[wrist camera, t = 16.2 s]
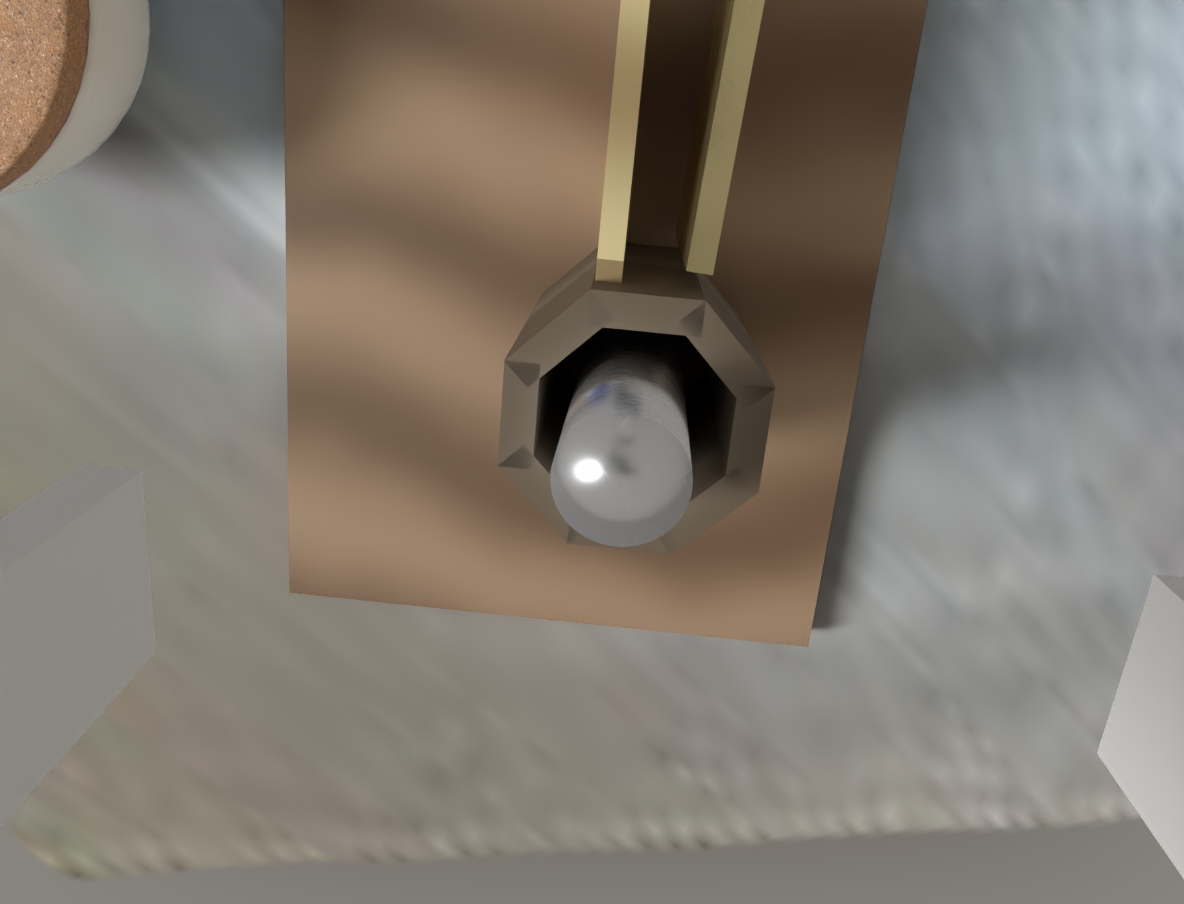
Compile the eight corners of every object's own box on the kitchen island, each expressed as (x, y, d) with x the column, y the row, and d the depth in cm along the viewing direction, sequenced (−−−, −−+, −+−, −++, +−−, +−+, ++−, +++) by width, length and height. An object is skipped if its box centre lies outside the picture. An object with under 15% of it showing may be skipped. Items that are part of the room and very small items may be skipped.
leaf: (719, -25, 27) (749, -80, 19) (741, -21, 27) (778, -75, 19) (675, 232, 29) (686, 271, 22) (694, 235, 29) (712, 275, 22)
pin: (594, 295, 30) (556, 405, 19) (684, 305, 30) (701, 421, 19) (585, 383, 31) (544, 538, 20) (673, 393, 31) (683, 554, 20)
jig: (296, -198, 27) (106, -372, 18) (942, -139, 27) (1109, -284, 17) (301, 577, 35) (171, 750, 25) (802, 629, 35) (864, 825, 25)
